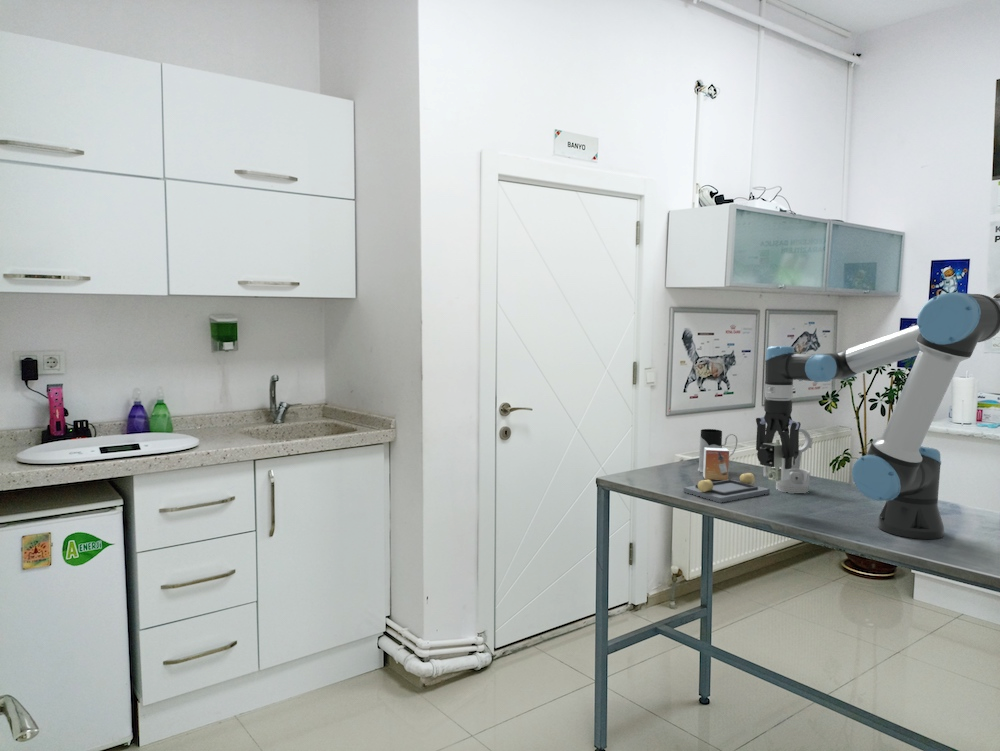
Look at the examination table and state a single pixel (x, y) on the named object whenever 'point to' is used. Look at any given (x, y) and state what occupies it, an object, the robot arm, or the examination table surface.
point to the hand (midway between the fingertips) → (776, 477)
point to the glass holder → (711, 443)
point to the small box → (716, 463)
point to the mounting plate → (727, 489)
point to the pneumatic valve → (772, 459)
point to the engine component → (797, 471)
